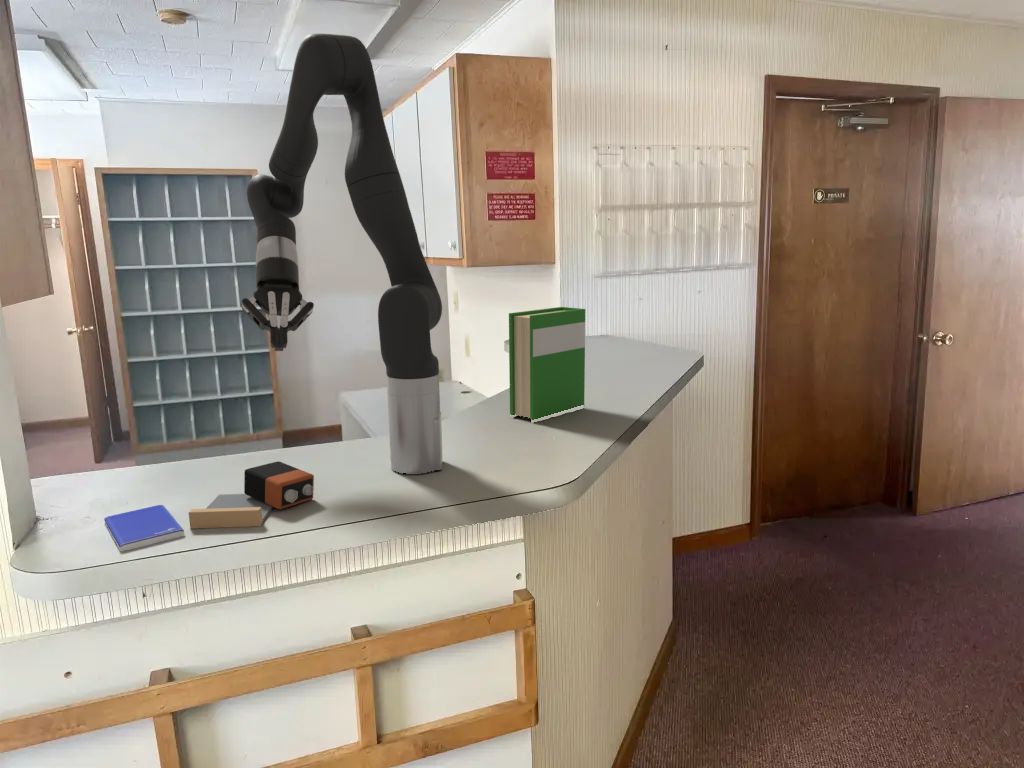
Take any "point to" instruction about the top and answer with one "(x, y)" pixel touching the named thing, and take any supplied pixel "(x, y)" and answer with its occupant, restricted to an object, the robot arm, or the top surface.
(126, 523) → the hard drive
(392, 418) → the robot arm
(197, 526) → the dough scraper
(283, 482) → the battery
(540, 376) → the hardback book
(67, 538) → the top surface
